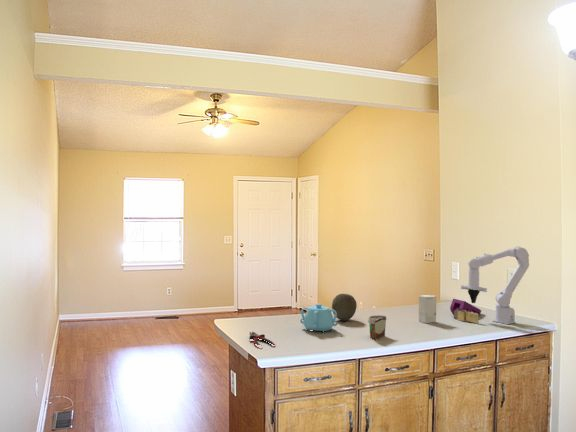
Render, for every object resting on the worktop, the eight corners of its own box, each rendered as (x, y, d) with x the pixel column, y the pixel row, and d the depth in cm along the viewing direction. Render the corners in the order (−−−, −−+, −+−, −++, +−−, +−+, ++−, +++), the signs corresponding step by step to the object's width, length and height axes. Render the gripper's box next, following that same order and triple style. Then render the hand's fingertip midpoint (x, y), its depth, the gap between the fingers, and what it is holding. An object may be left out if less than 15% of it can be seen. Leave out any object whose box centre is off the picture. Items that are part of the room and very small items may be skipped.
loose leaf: (479, 322, 273) (480, 313, 273) (474, 323, 270) (474, 314, 270) (462, 318, 282) (462, 310, 282) (457, 319, 279) (457, 311, 279)
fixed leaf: (466, 320, 278) (466, 310, 278) (464, 321, 277) (464, 310, 277) (456, 318, 284) (456, 308, 284) (453, 318, 283) (454, 308, 283)
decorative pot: (325, 325, 265) (325, 300, 265) (339, 331, 251) (339, 305, 250) (298, 327, 259) (298, 302, 259) (311, 334, 244) (311, 307, 244)
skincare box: (425, 323, 270) (425, 297, 270) (417, 321, 276) (418, 295, 276) (436, 322, 274) (437, 295, 274) (429, 319, 280) (429, 294, 279)
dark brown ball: (357, 323, 270) (358, 296, 270) (332, 322, 270) (332, 296, 270) (355, 317, 284) (355, 292, 284) (330, 317, 284) (331, 291, 284)
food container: (375, 333, 248) (375, 314, 248) (386, 335, 244) (386, 315, 244) (363, 338, 238) (363, 318, 238) (374, 340, 234) (374, 320, 234)
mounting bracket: (468, 321, 302) (448, 311, 295) (472, 309, 303) (453, 298, 296) (480, 325, 293) (460, 314, 286) (484, 312, 295) (464, 301, 288)
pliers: (276, 342, 222) (259, 328, 242) (258, 344, 219) (243, 330, 239) (276, 349, 223) (259, 334, 243) (258, 351, 219) (242, 336, 239)
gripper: (489, 280, 278) (488, 303, 278) (464, 277, 288) (464, 300, 288) (484, 281, 273) (483, 305, 273) (459, 278, 283) (459, 301, 283)
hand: (473, 302), depth 280 cm, fingers closed
